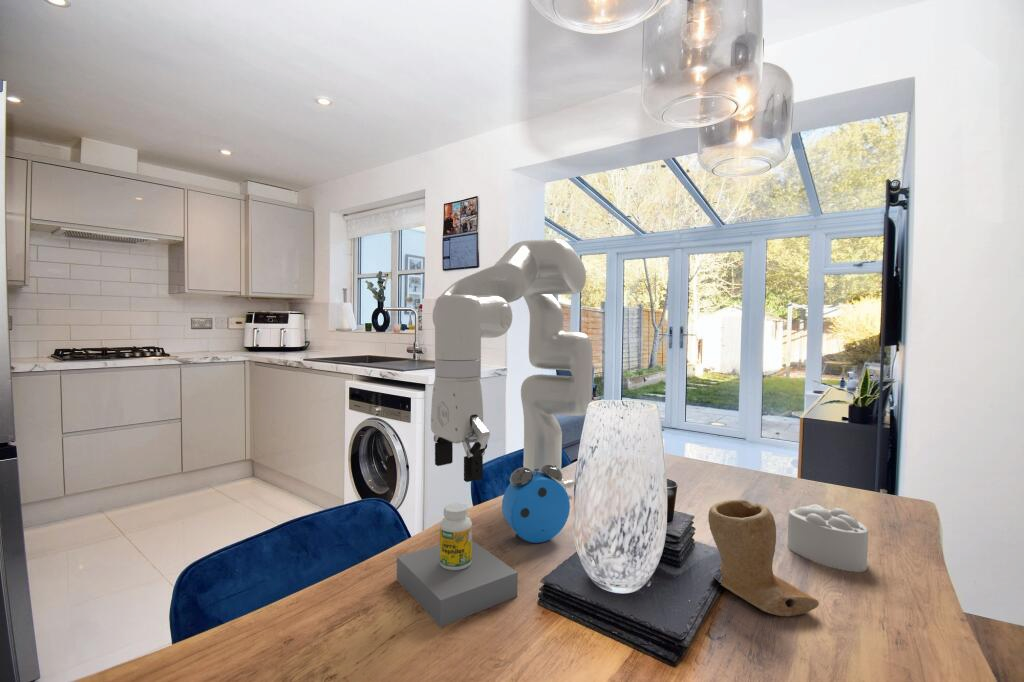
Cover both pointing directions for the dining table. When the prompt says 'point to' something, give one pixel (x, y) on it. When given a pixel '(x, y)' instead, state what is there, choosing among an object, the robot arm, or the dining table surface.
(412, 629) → the dining table surface
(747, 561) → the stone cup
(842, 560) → the lumpy-topped squat cylinder
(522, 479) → the alarm clock
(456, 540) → the supplement bottle
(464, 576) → the riser block
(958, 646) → the dining table surface
